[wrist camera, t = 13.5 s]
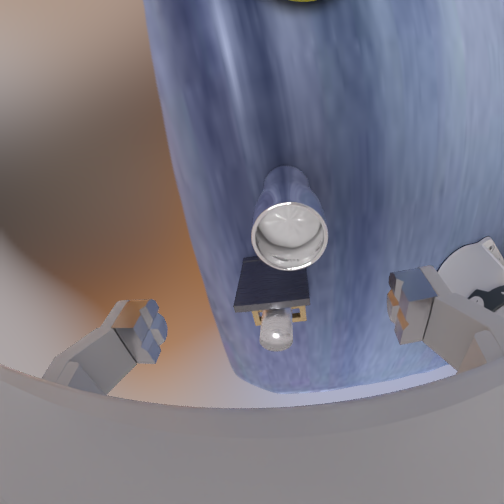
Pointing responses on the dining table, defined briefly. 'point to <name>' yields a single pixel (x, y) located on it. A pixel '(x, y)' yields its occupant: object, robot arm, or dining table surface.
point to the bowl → (302, 0)
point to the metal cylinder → (276, 329)
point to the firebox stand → (270, 289)
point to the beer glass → (288, 221)
